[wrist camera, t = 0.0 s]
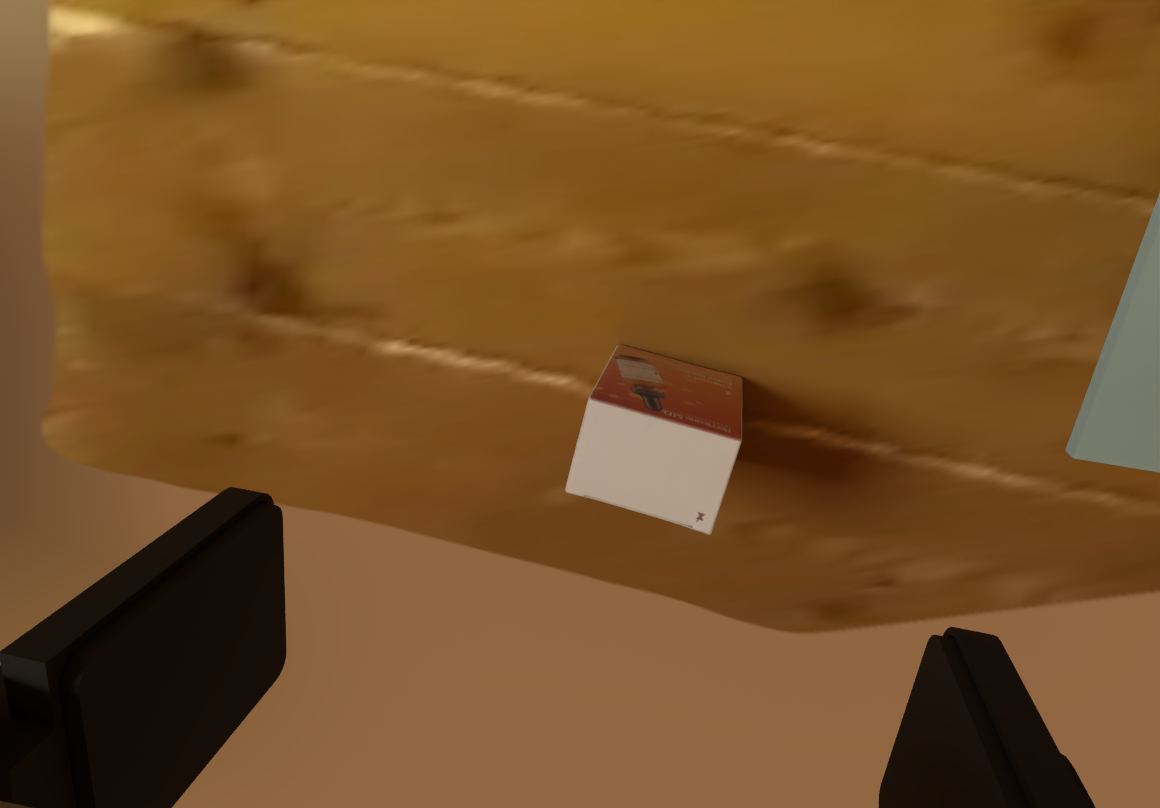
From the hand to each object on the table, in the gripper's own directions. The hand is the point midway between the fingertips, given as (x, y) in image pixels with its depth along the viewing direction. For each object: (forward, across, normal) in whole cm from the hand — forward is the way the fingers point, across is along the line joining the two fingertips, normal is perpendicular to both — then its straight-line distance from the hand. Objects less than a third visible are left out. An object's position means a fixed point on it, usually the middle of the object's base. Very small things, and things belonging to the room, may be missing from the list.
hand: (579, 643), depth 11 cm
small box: (+37, 0, +9) cm, 38 cm away
